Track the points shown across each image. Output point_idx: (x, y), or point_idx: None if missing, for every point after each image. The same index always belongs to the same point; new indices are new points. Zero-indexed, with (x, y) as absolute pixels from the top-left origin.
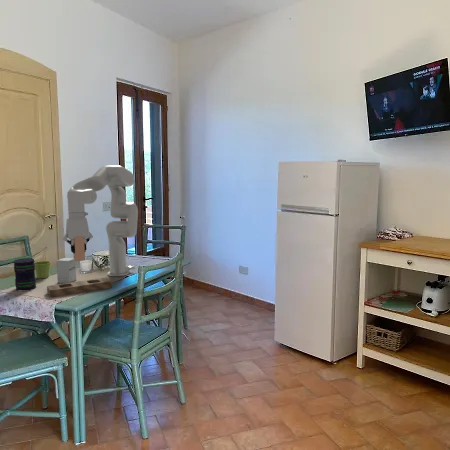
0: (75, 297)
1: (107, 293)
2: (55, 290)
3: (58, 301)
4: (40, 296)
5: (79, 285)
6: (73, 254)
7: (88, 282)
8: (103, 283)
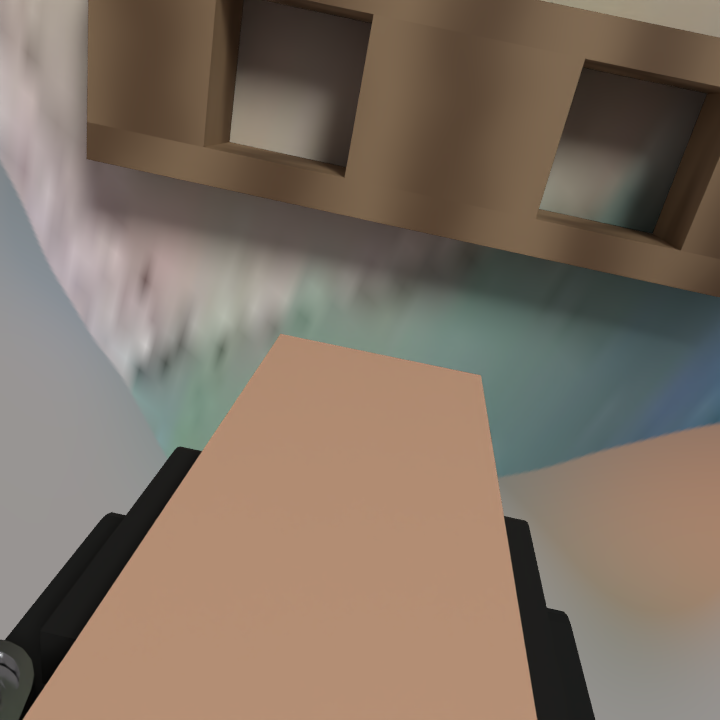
0: (309, 329)
1: (578, 428)
2: (146, 170)
3: (155, 328)
4: (45, 32)
5: (412, 208)
6: (245, 389)
7: (607, 65)
8: (680, 285)
